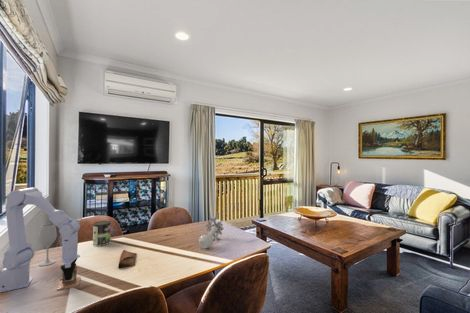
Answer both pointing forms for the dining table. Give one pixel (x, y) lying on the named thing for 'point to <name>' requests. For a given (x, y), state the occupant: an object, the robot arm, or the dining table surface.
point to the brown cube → (72, 277)
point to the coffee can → (101, 233)
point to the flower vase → (211, 234)
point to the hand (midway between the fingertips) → (69, 276)
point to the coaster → (68, 284)
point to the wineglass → (47, 239)
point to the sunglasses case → (127, 259)
